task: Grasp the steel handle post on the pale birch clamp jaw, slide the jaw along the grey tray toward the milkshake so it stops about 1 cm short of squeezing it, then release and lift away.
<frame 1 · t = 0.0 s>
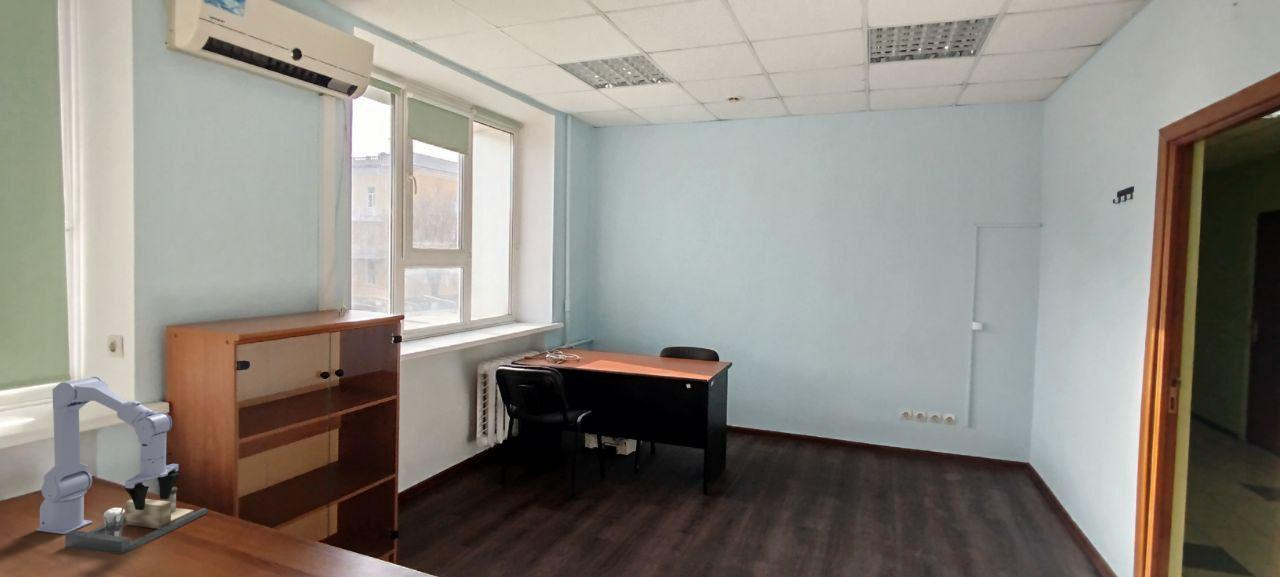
hand: (152, 504, 173), 10 cm above the table, tool pointing down, fingers open, 7 cm apart
grey tray: (140, 529, 179), on the table
clamp jaw: (160, 505, 185), point 4 cm above the table, slide at 0.0 cm
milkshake: (115, 541, 171), on the table
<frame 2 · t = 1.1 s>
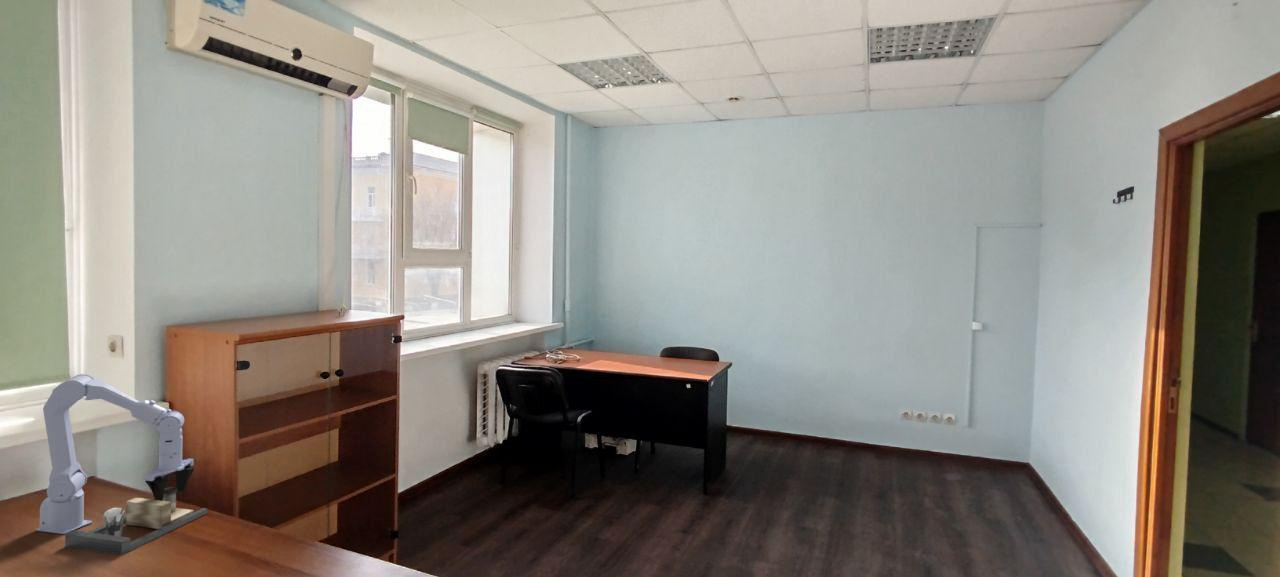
hand: (170, 495, 188), 6 cm above the table, tool pointing down, fingers open, 7 cm apart
nothing on the table moved.
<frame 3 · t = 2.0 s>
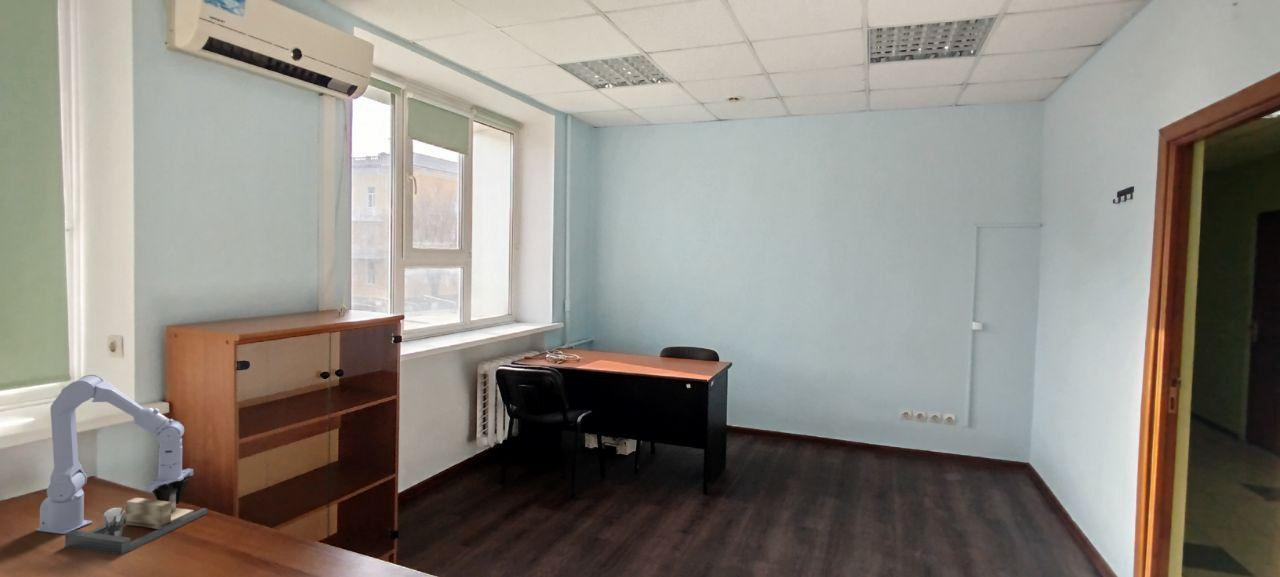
hand: (169, 505, 188), 3 cm above the table, tool pointing down, fingers closed on clamp jaw, 3 cm apart
clamp jaw: (160, 505, 185), point 4 cm above the table, slide at 0.0 cm, touching gripper
everything else where it was.
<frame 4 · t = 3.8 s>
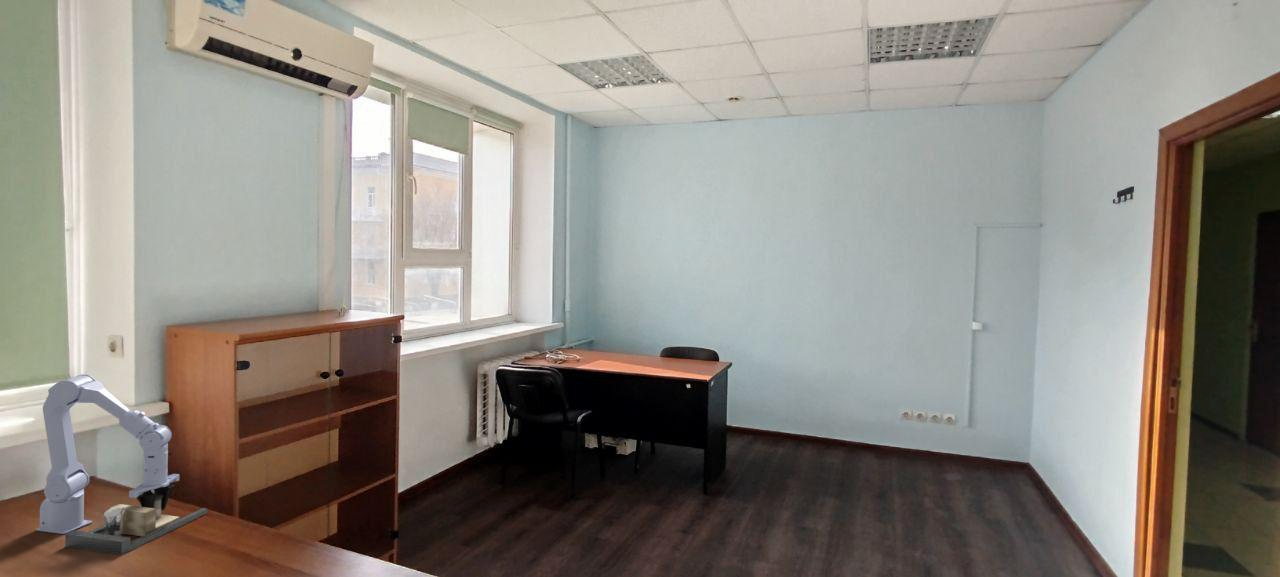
hand: (154, 512, 183), 3 cm above the table, tool pointing down, fingers closed on clamp jaw, 3 cm apart
clamp jaw: (145, 512, 180), point 4 cm above the table, slide at 5.0 cm, touching gripper
everything else where it was.
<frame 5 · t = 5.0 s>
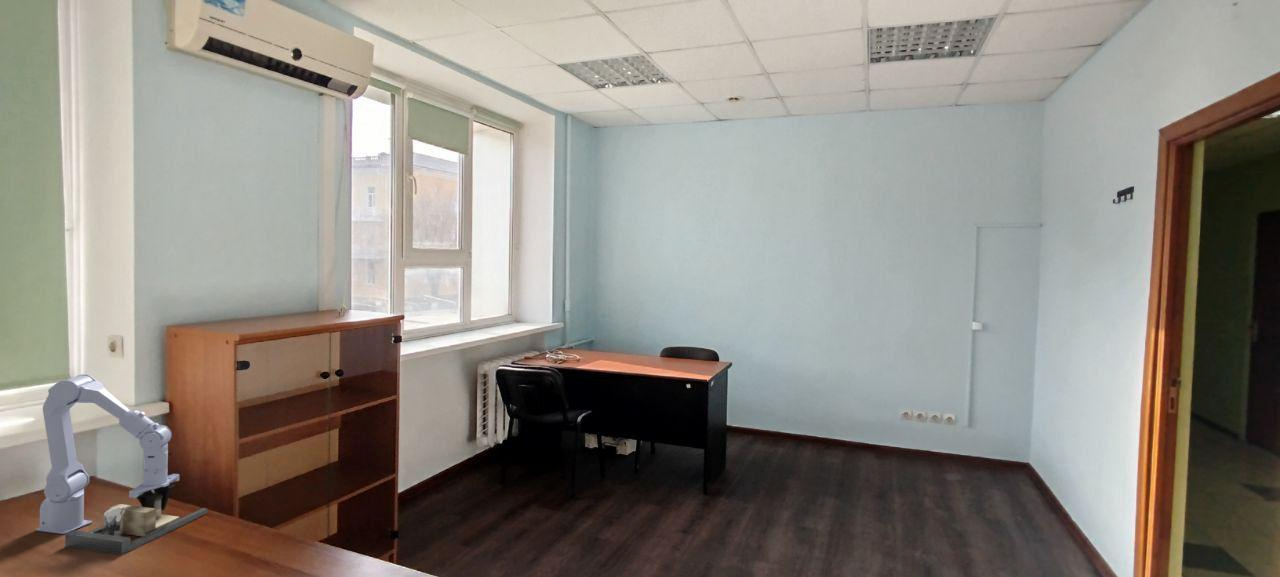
hand: (154, 512, 183), 3 cm above the table, tool pointing down, fingers closed on clamp jaw, 3 cm apart
clamp jaw: (145, 512, 180), point 4 cm above the table, slide at 5.0 cm, touching gripper
everything else where it was.
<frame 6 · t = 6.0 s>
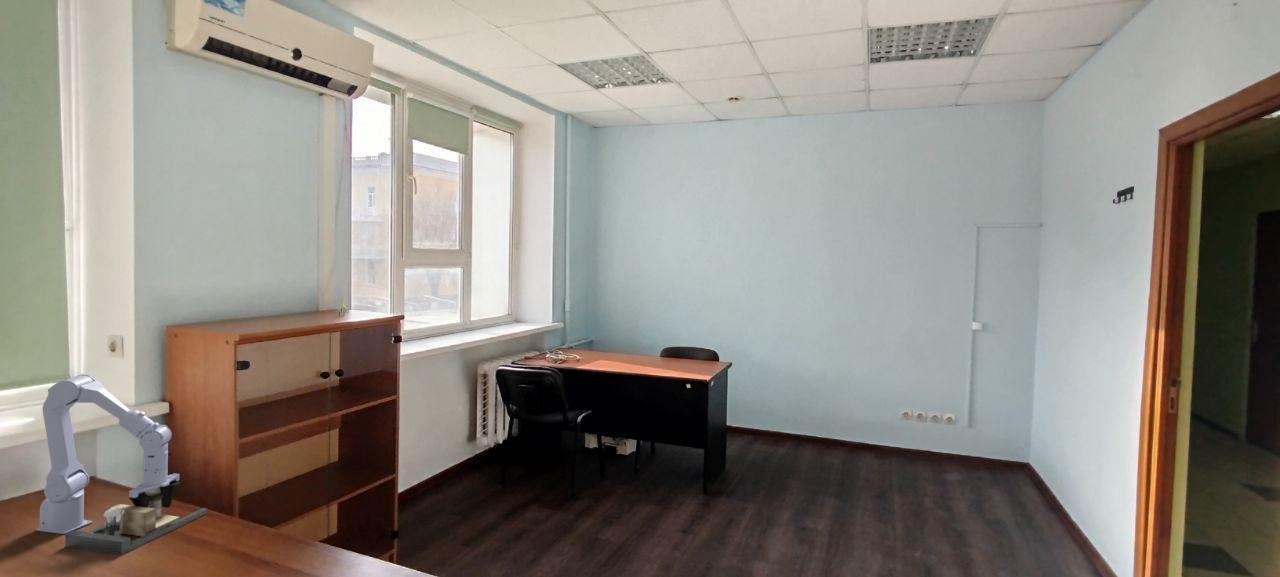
hand: (154, 512, 183), 3 cm above the table, tool pointing down, fingers open, 7 cm apart
clamp jaw: (145, 512, 180), point 4 cm above the table, slide at 5.0 cm
everything else where it was.
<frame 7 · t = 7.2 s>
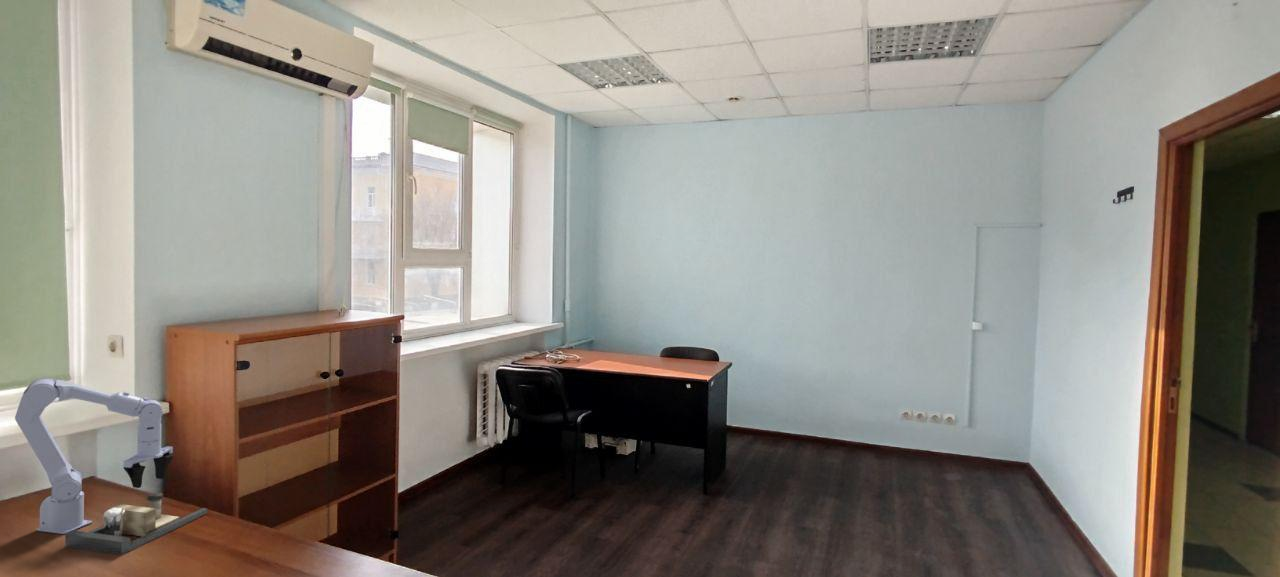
hand: (148, 482, 189), 9 cm above the table, tool pointing down, fingers open, 7 cm apart
nothing on the table moved.
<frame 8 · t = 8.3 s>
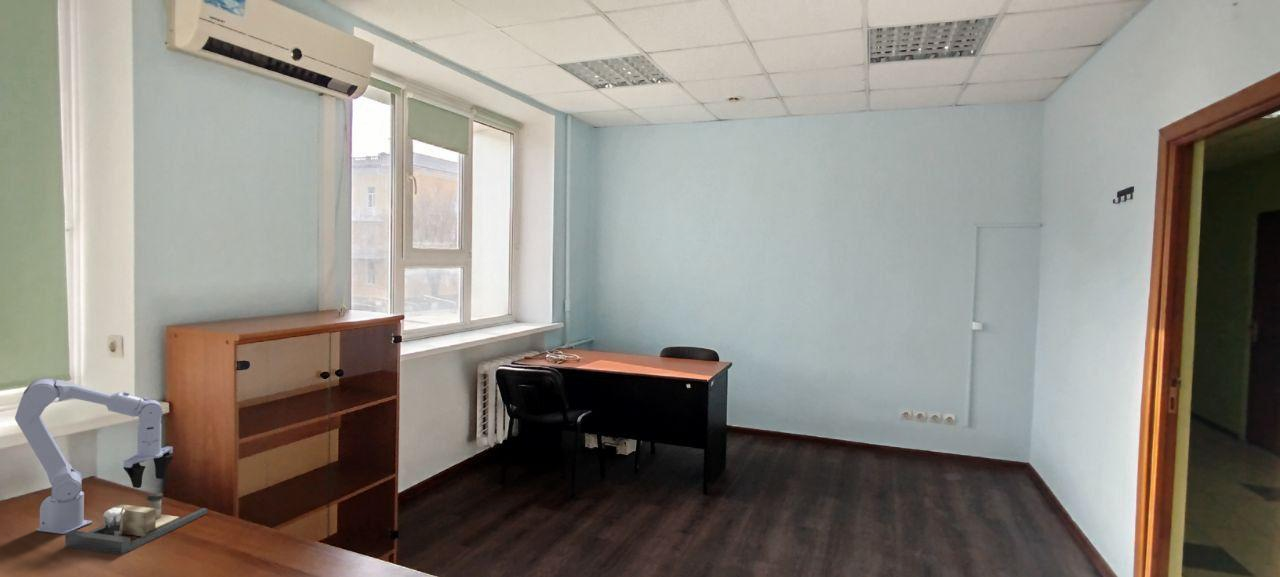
hand: (148, 482, 189), 9 cm above the table, tool pointing down, fingers open, 7 cm apart
nothing on the table moved.
at the end: clamp jaw slide at 5.0 cm; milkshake moved 0.2 cm from its start; the gripper is holding nothing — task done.
